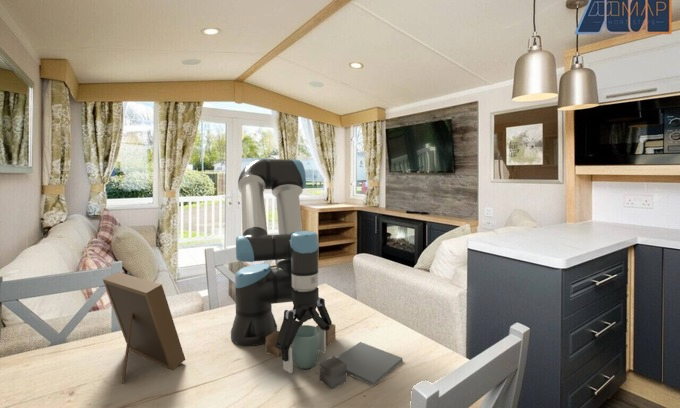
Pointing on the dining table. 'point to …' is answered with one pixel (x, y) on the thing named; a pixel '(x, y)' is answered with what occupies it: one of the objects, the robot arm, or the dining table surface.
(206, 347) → the dining table surface
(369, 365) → the slate board
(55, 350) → the dining table surface
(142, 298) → the photo frame
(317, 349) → the cup
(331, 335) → the walnut block left
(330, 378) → the charcoal block front
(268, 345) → the walnut block near
